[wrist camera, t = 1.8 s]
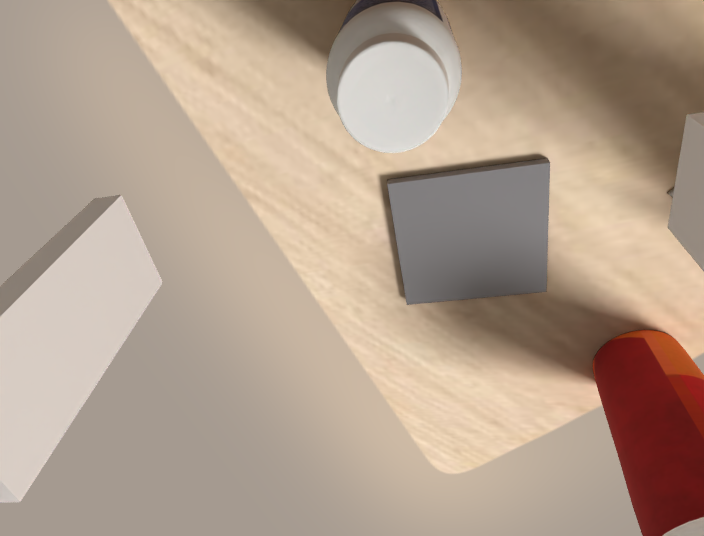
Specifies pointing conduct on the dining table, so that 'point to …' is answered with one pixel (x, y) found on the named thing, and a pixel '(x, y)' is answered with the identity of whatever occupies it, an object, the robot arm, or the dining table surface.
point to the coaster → (472, 231)
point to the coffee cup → (656, 428)
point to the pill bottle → (394, 72)
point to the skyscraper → (671, 192)
